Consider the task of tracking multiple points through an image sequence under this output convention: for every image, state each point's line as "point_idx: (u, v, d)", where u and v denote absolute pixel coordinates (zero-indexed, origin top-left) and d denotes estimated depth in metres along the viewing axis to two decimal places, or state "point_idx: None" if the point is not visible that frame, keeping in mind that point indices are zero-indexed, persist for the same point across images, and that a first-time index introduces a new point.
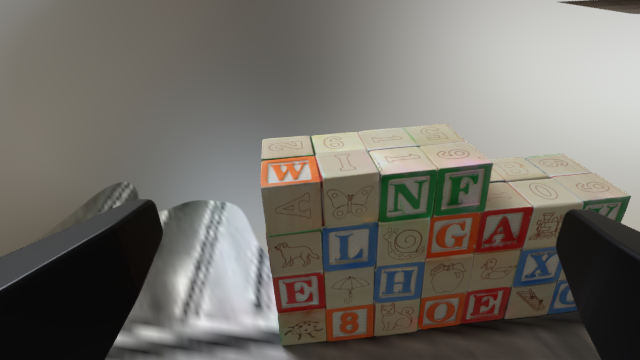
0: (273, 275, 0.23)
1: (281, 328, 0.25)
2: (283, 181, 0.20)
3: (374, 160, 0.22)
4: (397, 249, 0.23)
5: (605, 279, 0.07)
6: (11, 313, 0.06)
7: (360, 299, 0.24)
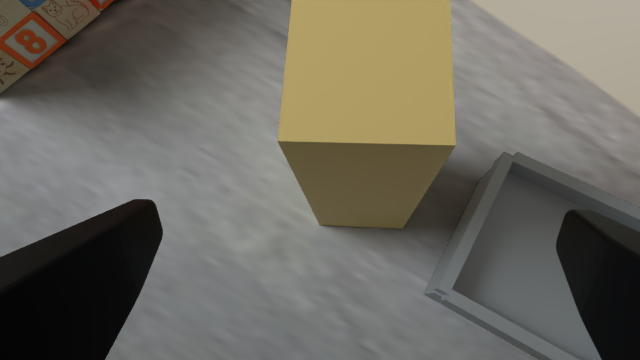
0: None
1: None
2: None
3: None
4: None
5: (605, 279, 0.07)
6: (11, 313, 0.06)
7: (14, 14, 0.24)
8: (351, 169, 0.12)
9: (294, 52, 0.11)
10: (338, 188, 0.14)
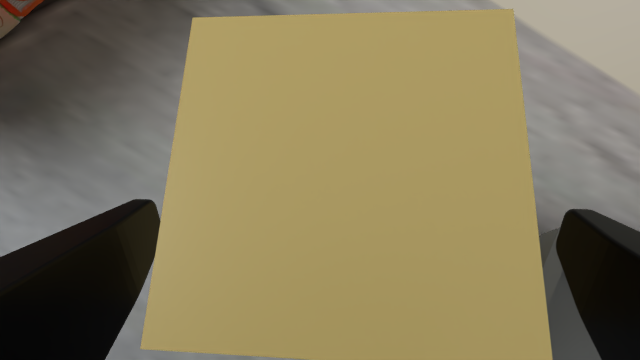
0: None
1: None
2: None
3: None
4: None
5: (605, 279, 0.07)
6: (11, 313, 0.06)
7: None
8: None
9: (190, 133, 0.05)
10: None
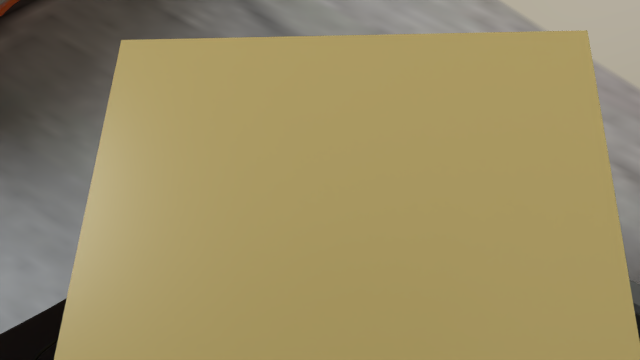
0: None
1: None
2: None
3: None
4: None
5: None
6: None
7: None
8: None
9: (107, 216, 0.04)
10: None
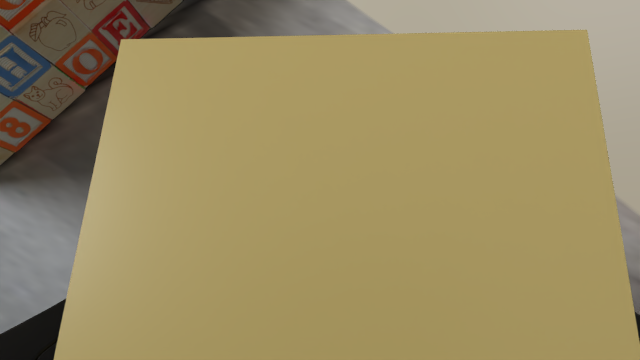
0: None
1: None
2: None
3: None
4: None
5: None
6: None
7: None
8: None
9: (107, 215, 0.04)
10: None
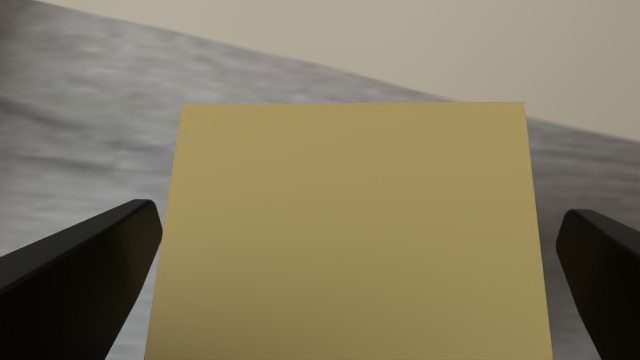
0: None
1: None
2: None
3: None
4: None
5: (605, 279, 0.07)
6: (11, 313, 0.06)
7: None
8: None
9: (179, 238, 0.05)
10: None
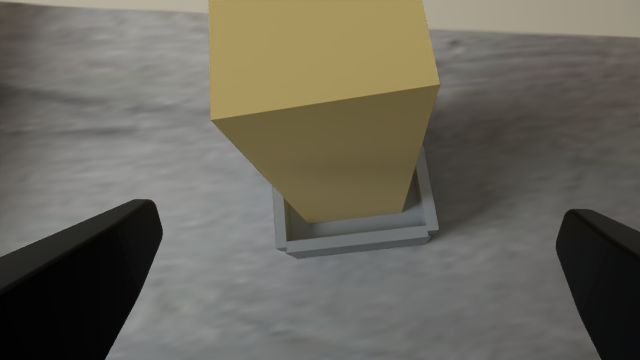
0: None
1: None
2: None
3: None
4: None
5: (605, 279, 0.07)
6: (11, 313, 0.06)
7: None
8: (318, 145, 0.10)
9: (218, 8, 0.09)
10: (313, 174, 0.12)
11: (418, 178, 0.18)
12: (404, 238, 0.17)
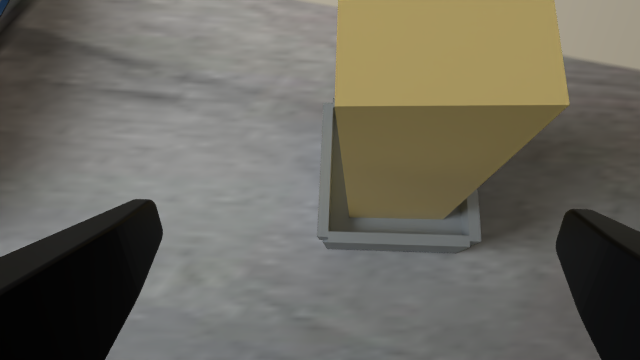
0: None
1: None
2: None
3: None
4: None
5: (605, 279, 0.07)
6: (11, 313, 0.06)
7: None
8: (414, 145, 0.10)
9: None
10: (388, 171, 0.12)
11: None
12: (445, 245, 0.18)
